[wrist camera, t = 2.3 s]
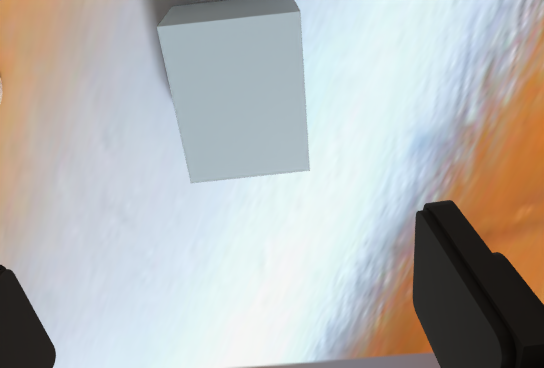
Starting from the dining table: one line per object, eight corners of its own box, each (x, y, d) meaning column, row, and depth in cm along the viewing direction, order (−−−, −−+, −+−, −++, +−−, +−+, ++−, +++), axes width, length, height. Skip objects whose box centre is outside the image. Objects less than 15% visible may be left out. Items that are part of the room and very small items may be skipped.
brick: (172, 5, 21) (156, 26, 17) (290, -8, 21) (300, 11, 17) (199, 140, 25) (191, 183, 21) (299, 130, 25) (309, 170, 21)
